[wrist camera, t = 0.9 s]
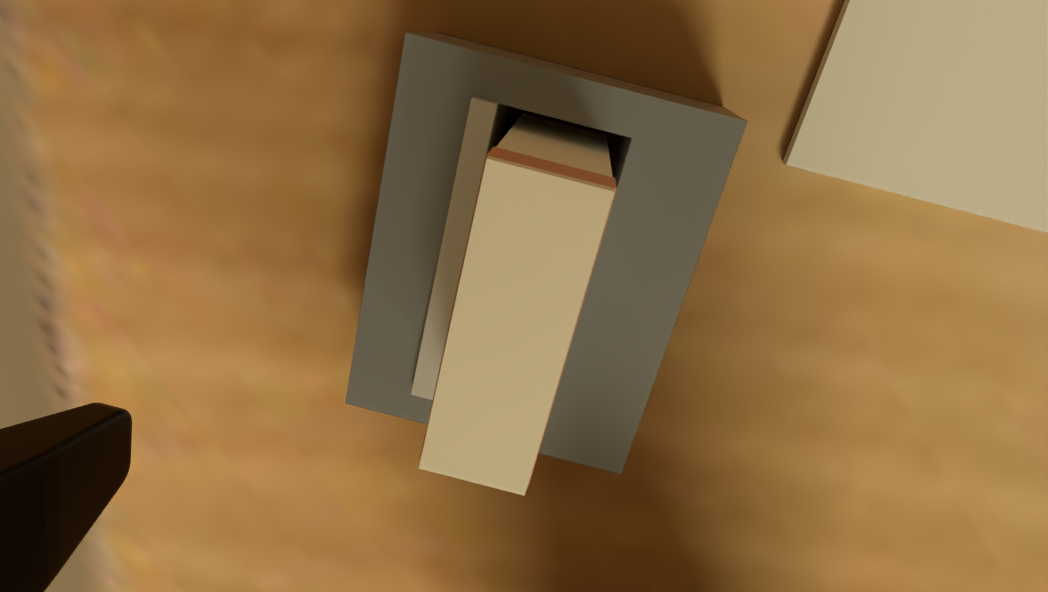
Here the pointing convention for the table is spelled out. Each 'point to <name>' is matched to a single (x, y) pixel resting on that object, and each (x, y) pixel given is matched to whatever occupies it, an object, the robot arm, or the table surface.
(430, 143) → the dispenser
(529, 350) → the cream rectangular block
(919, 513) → the table surface
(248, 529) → the table surface
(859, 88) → the mat
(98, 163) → the table surface
